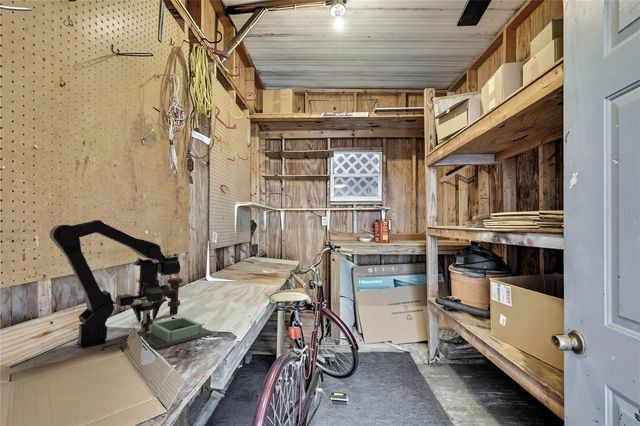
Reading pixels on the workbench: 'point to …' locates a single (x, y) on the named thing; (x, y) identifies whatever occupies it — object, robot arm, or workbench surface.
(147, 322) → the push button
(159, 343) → the mounting plate
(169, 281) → the bolt
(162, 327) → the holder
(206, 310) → the workbench surface
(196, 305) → the workbench surface
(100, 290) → the robot arm
